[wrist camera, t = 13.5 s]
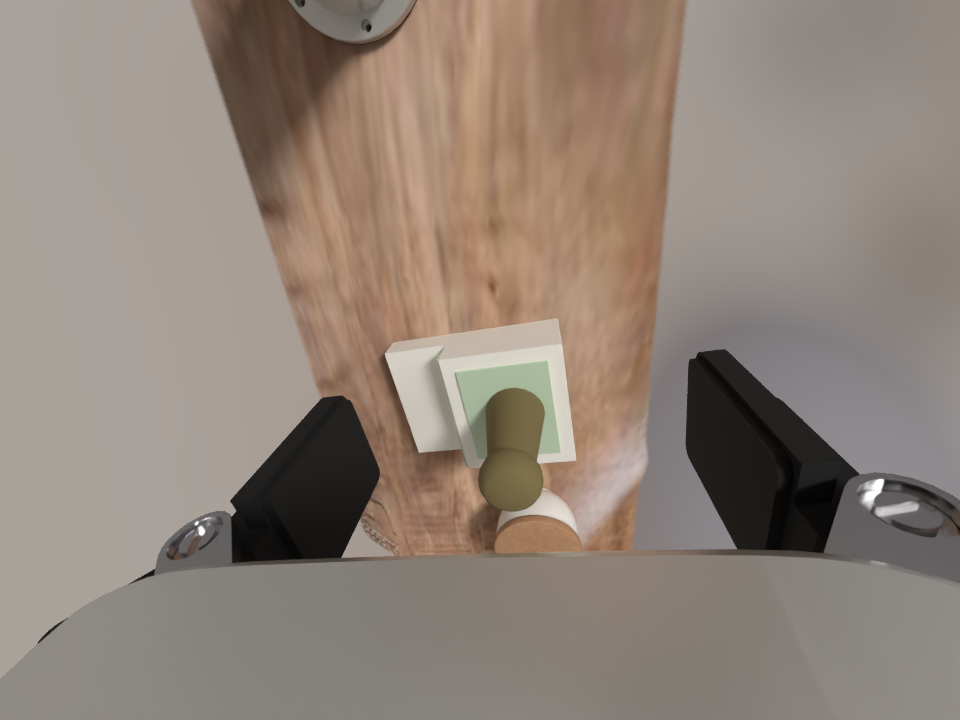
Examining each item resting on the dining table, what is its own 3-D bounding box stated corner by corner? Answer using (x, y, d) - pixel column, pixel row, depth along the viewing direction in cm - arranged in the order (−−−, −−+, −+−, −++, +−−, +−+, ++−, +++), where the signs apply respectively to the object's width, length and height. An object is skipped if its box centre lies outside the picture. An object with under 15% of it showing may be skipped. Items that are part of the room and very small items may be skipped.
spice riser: (393, 342, 45) (371, 370, 39) (557, 318, 41) (562, 345, 35) (424, 437, 51) (410, 474, 45) (570, 424, 47) (576, 462, 41)
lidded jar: (521, 536, 57) (520, 600, 49) (484, 489, 54) (475, 548, 45) (588, 516, 54) (599, 580, 45) (553, 463, 50) (557, 523, 42)
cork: (509, 445, 41) (502, 533, 31) (473, 406, 39) (454, 486, 29) (556, 419, 39) (565, 505, 29) (521, 377, 37) (518, 453, 27)
